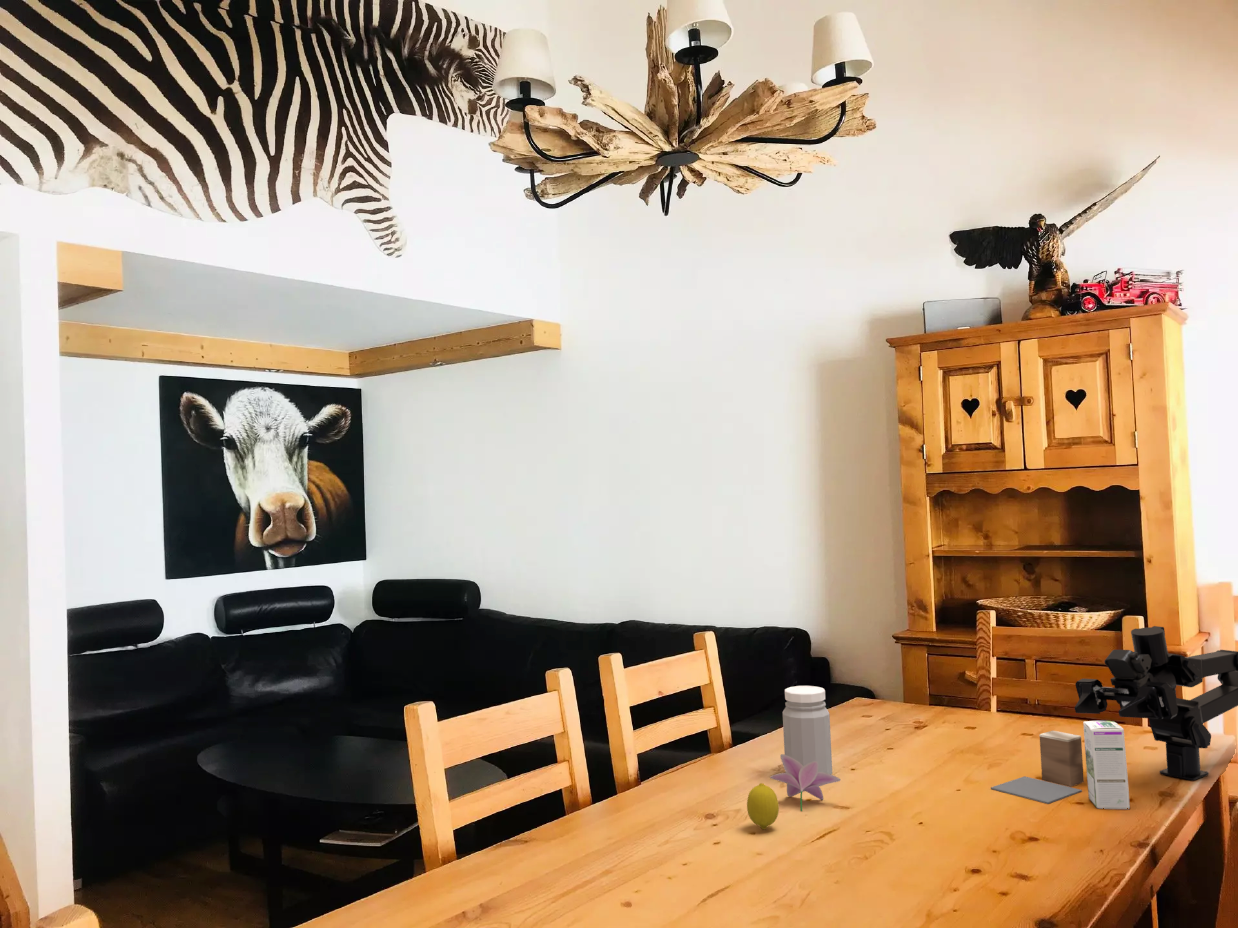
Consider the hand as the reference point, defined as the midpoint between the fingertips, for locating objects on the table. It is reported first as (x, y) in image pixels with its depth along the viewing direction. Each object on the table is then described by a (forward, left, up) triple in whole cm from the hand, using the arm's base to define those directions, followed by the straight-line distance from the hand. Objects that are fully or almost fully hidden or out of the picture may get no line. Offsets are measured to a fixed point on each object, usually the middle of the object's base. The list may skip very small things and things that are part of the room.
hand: (1097, 711), depth 179 cm
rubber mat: (+4, -11, -16) cm, 20 cm away
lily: (+43, -34, -16) cm, 57 cm away
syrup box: (+2, +2, -16) cm, 16 cm away
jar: (+30, -46, -16) cm, 57 cm away
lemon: (+58, -29, -16) cm, 67 cm away
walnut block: (-5, -11, -16) cm, 20 cm away
